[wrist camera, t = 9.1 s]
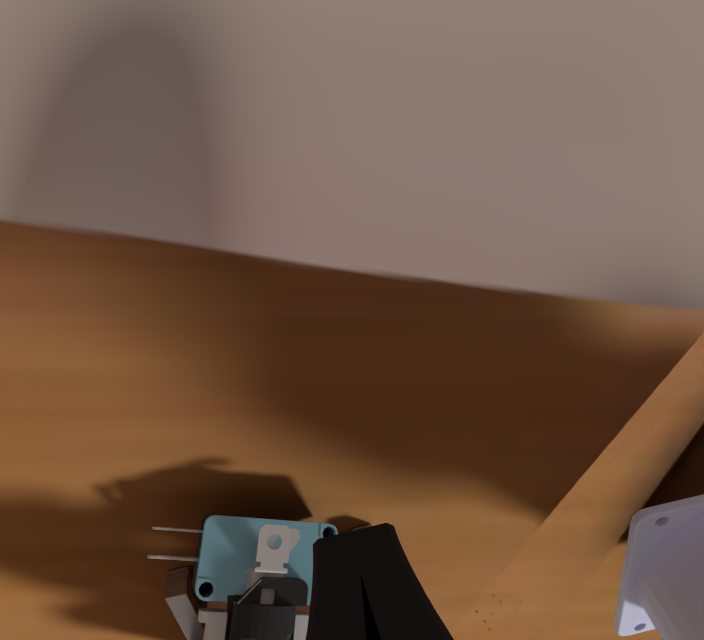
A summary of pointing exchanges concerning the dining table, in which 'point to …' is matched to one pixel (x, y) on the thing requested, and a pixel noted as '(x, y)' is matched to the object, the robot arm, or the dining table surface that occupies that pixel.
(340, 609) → the robot arm
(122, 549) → the dining table surface
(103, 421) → the dining table surface
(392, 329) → the dining table surface
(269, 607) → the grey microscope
